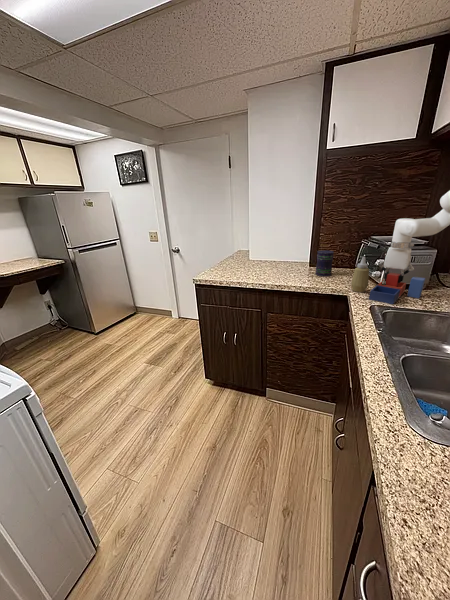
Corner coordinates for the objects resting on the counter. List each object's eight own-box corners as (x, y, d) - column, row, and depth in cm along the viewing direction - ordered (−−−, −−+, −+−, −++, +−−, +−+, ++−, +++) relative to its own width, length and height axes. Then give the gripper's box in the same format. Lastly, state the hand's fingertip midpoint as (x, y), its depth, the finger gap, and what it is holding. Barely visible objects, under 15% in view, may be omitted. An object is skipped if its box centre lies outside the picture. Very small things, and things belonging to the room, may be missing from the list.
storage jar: (319, 271, 169) (321, 249, 164) (333, 273, 163) (336, 251, 157) (312, 274, 163) (314, 252, 157) (327, 277, 156) (329, 253, 151)
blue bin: (398, 298, 120) (400, 289, 118) (393, 304, 113) (395, 295, 111) (375, 293, 126) (376, 285, 125) (368, 299, 120) (370, 290, 118)
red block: (397, 290, 127) (401, 273, 124) (395, 293, 124) (398, 275, 121) (386, 288, 131) (390, 272, 127) (384, 291, 128) (387, 274, 124)
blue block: (420, 295, 121) (425, 278, 118) (419, 298, 118) (423, 280, 115) (409, 293, 124) (413, 276, 121) (407, 296, 121) (411, 278, 118)
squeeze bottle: (349, 287, 136) (353, 255, 130) (365, 288, 134) (371, 255, 127) (351, 292, 129) (356, 258, 123) (368, 293, 127) (374, 258, 120)
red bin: (404, 291, 128) (406, 282, 126) (399, 296, 121) (401, 288, 119) (382, 287, 134) (383, 279, 133) (376, 292, 128) (378, 284, 126)
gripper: (423, 245, 116) (414, 282, 122) (382, 243, 127) (376, 277, 134) (420, 248, 111) (411, 286, 117) (378, 245, 122) (371, 280, 129)
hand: (392, 281), depth 126 cm, fingers open, 5 cm apart
